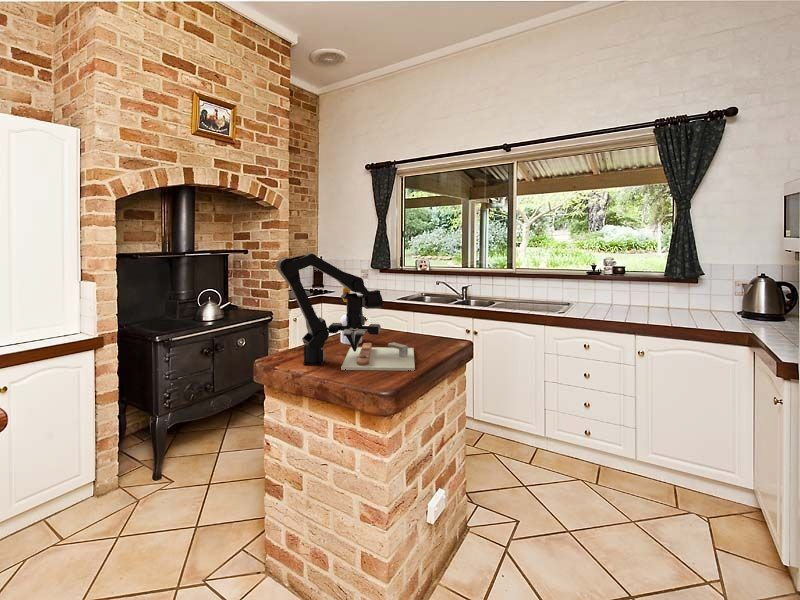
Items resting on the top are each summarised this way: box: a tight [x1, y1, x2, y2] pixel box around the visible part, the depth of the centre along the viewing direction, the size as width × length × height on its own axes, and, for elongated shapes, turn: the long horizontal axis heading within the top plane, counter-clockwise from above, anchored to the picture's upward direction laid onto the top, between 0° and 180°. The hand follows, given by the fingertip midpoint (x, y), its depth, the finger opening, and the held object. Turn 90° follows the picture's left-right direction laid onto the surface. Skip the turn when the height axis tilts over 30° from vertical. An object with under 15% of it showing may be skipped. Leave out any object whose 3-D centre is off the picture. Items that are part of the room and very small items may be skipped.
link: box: [357, 342, 373, 365], centre depth 165 cm, size 22×4×2 cm, turn 179°
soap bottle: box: [339, 286, 363, 346], centre depth 189 cm, size 9×9×25 cm
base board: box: [340, 346, 416, 372], centre depth 166 cm, size 25×26×1 cm
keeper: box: [387, 341, 409, 357], centre depth 168 cm, size 3×8×5 cm, turn 44°
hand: (354, 351), depth 168 cm, fingers closed
